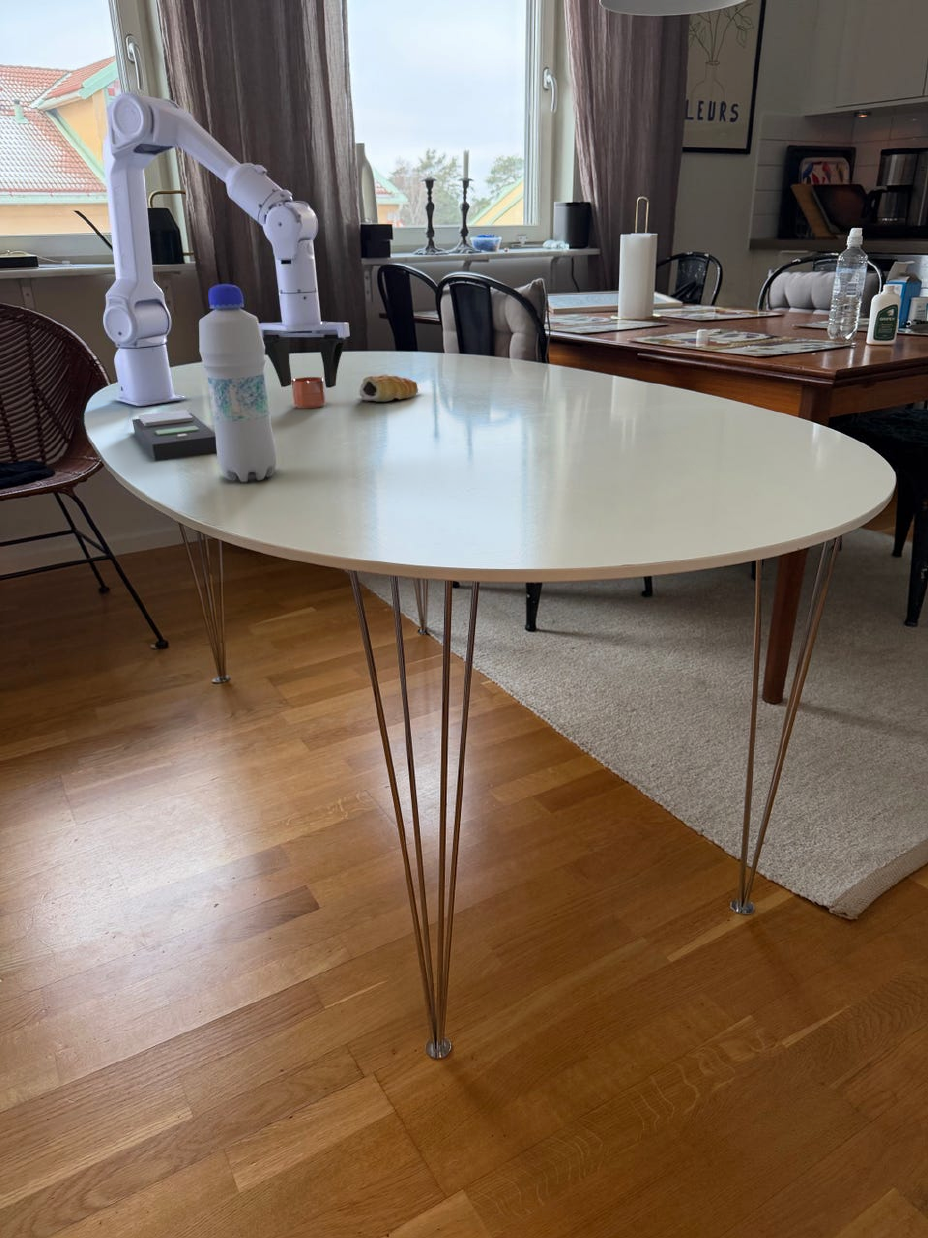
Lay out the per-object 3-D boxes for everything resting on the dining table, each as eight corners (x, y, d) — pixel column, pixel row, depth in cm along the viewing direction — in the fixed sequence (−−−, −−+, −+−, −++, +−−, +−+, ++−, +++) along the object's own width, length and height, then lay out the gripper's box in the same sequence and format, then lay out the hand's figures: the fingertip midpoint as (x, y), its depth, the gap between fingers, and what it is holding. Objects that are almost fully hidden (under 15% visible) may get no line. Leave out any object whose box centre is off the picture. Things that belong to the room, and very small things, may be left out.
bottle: (228, 469, 98) (201, 282, 90) (286, 468, 98) (264, 281, 90) (211, 485, 92) (179, 286, 84) (272, 484, 92) (247, 284, 83)
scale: (134, 433, 118) (131, 415, 117) (193, 426, 121) (190, 408, 120) (155, 460, 103) (151, 440, 102) (221, 451, 106) (218, 431, 105)
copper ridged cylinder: (288, 406, 133) (285, 380, 132) (314, 401, 136) (311, 375, 135) (305, 409, 130) (302, 383, 128) (331, 405, 133) (329, 378, 131)
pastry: (402, 391, 142) (400, 367, 141) (428, 396, 138) (427, 371, 136) (356, 399, 137) (354, 375, 135) (382, 405, 132) (380, 379, 130)
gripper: (241, 294, 125) (253, 389, 130) (331, 293, 121) (340, 391, 126) (265, 291, 131) (276, 382, 137) (351, 289, 127) (359, 383, 132)
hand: (308, 386), depth 132 cm, fingers open, 7 cm apart
